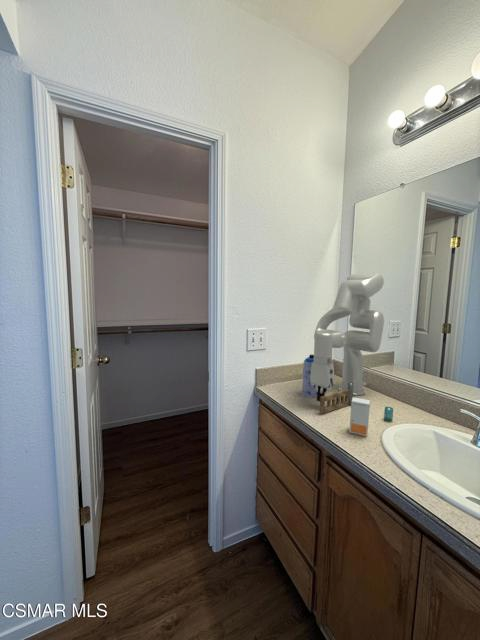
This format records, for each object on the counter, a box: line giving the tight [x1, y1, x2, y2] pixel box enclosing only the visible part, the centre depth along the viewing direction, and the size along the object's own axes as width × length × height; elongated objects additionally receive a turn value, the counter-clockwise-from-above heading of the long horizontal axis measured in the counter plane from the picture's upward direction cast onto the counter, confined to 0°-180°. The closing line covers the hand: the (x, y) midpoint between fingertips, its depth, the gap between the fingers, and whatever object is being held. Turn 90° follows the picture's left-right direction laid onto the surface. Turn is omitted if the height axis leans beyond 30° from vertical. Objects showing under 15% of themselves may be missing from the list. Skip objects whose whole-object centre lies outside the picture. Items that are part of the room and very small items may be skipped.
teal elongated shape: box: [347, 383, 394, 423], centre depth 116 cm, size 3×20×10 cm, turn 33°
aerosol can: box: [301, 354, 317, 399], centre depth 135 cm, size 8×8×20 cm
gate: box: [319, 389, 350, 415], centre depth 118 cm, size 18×1×7 cm, turn 123°
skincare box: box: [348, 397, 371, 437], centre depth 99 cm, size 6×4×12 cm
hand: (320, 400), depth 121 cm, fingers closed
